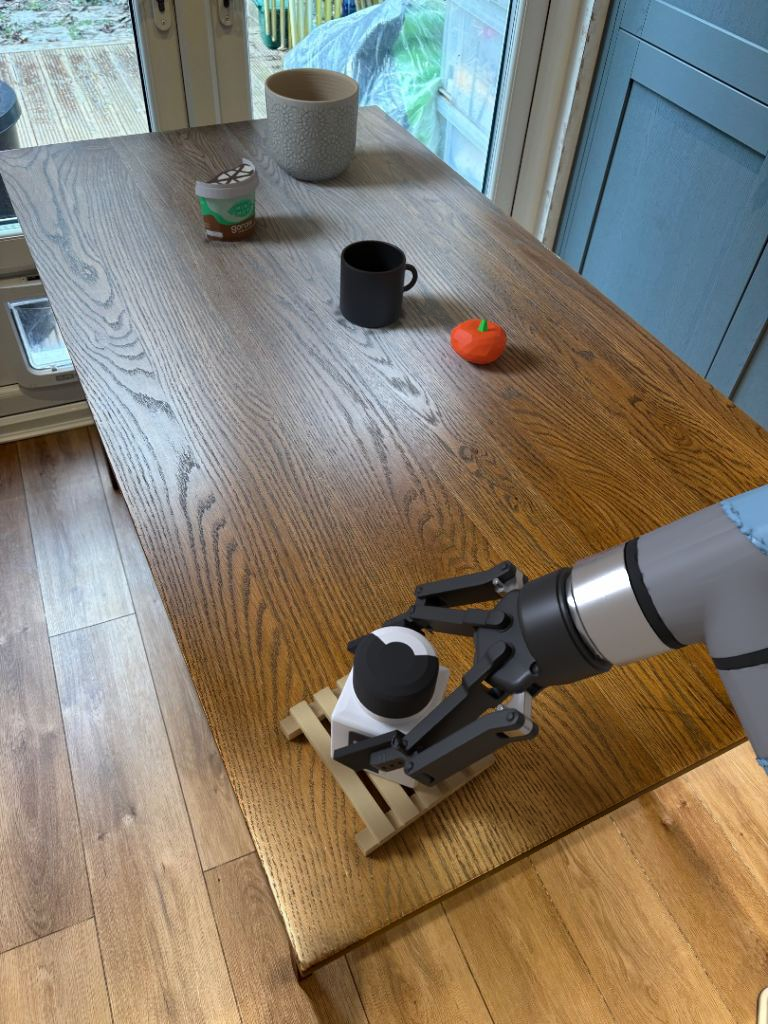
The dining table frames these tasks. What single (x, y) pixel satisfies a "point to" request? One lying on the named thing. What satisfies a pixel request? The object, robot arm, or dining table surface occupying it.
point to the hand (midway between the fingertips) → (351, 704)
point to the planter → (312, 121)
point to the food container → (229, 203)
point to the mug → (373, 282)
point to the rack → (371, 775)
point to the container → (388, 690)
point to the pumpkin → (478, 340)
